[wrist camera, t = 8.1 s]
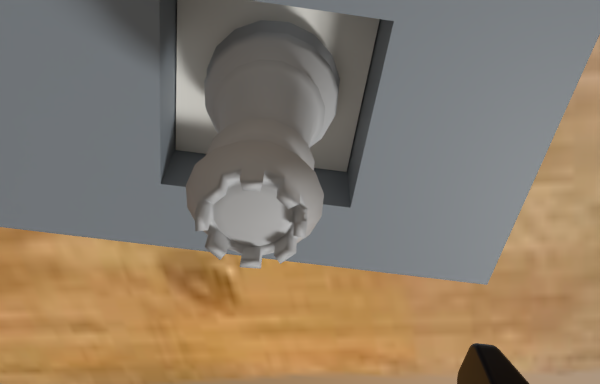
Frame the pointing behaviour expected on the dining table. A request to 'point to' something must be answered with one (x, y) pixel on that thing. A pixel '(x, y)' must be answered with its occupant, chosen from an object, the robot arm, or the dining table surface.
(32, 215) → the socket board
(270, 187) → the rook chess piece
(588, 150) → the dining table surface
